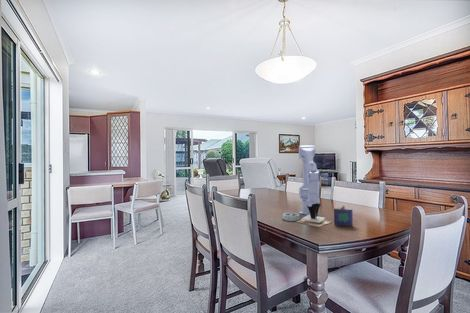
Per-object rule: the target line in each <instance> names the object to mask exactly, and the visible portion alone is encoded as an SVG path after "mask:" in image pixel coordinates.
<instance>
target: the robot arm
mask: <svg viewBox="0 0 470 313" xmlns="http://www.w3.org/2000/svg"><path fill="white" fill-rule="evenodd" d="M315 155H316V146H315V145H299V146H298V159H300V160H301V162H302V182H303V183H302V185H300V186H299V187H298V188H299V189H298V196H299V199H300V200H301V211H299V212H298V214H302V215H305V216H307V215H310V216H311V218H315V216H316V217H317V216H318V214H319V210H320V207H321V203H320V202H321V201H320V200H321V199H320V181H321V174H320V171H319V170H318V167H317V163H316V162H314V157H315Z"/></svg>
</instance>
